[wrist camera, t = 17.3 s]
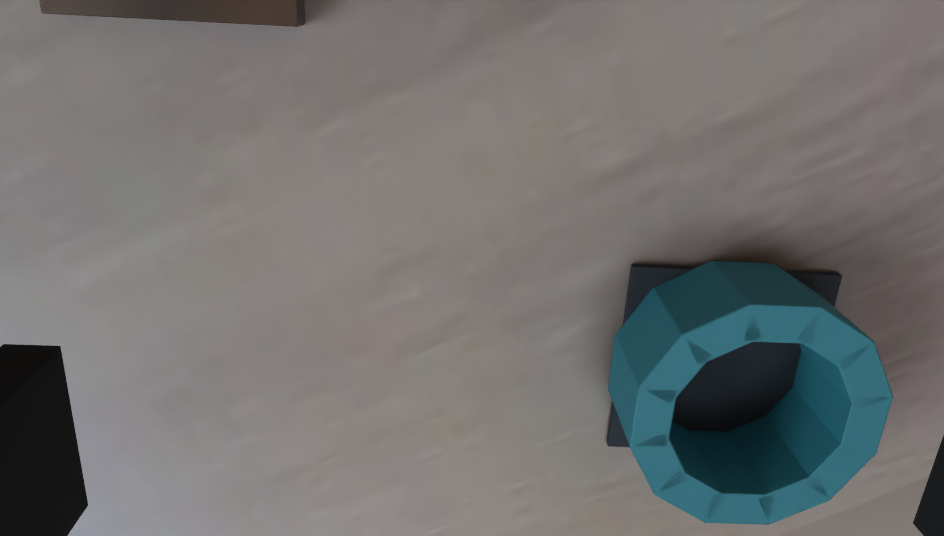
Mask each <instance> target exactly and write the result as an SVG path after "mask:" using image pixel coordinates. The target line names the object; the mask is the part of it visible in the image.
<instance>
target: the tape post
mask: <svg viewBox="0 0 944 536" xmlns="http://www.w3.org/2000/svg"><path fill="white" fill-rule="evenodd" d="M40 6H41V12H42V13H44V14H63V15H83V16H102V17H121V18H140V19H159V20H179V21H198V22H217V23H236V24H255V25H275V26H294V27H297V26H301V25H304V24H305V10H304V0H40Z"/></svg>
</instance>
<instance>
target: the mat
mask: <svg viewBox="0 0 944 536" xmlns="http://www.w3.org/2000/svg"><path fill="white" fill-rule="evenodd" d="M695 268H697V267H690V266H665V265H641V264H632V265H631V271H630V278H629V285H628V292H627V299H626V306H625V314H624V321H623V325H624V323H625V322H626V321H627V320H628V318H629V317H630V316H631V315H632V313H633V312H634V311H635V310H636V308H637V307H638V306H639V304H640V303H641V302H642V301H643V299H644V298H645V297H646V296H647V294H648V293H649V292H650V291H651V289H652V288H654V287H656V286H658V285H660V284H662V283H664V282H666V281H669V280H671V279H673V278H675V277H677V276H680V275H682V274H684V273H686V272H688V271H690V270H693V269H695ZM784 271H785V272H787V273H788V274H790V275H791V276H793V277H794V278H796V279H797V280H799V281H800V282H802V283H803V284H805V285H806V286H808V287H809V288H811V289H812V290H814V291H815V292H817V293H818V294H820V295H821V296H822V297H823V298H824V299H825V300H827V301H828V302H829V303H830V304H831V305H832V306H834V305H835V302H836V298H837V294H838V290H839V286H840V282H841V278H842V275H841V274H839V273H835V272H810V271H786V270H784ZM800 354H801V347H800V345H799V343H775V342H751V343H749V344H747V345H744V346H742V347H740V348H737V349H735V350H733V351H731V352H728V353H726V354H724V355H721V356H719V357H717V358H715V359H712V360H710V361H708V362H706V363H705V364H704V366H703V367H702V368H701V369H700V370H699V372H698V373H697V374H696V375H695V376H694V377H693V379H692V380H691V381H690V382H689V383H688V384H687V386H686V387H685V388H684V389H683V390H682V391H681V393H680V394H679V395H678V396H677V397H676V401H675V407H674V412H673V418H672V421H674V422H675V423H677V424H679V425H680V426H682V427H684V428H686V429H687V430H689V431H719V432H729V431H731V430H733V429H736V428H738V427H740V426H743V425H745V424H748V423H750V422H752V421H755V420H757V419H759V418H762V417H764V416H766V415H767V414H768V413H769V412H770V411H771V410H772V409H773V408H774V407H775V406H776V404H777V403H778V402H779V401H780V400H781V399H782V398H783V397H784V396H785V395H786V393H787V392H788V391H789V390H790V389H791V388H792V387H793V383H794V379H795V375H796V371H797V367H798V363H799V358H800ZM607 445H608V446H615V447H630V446H629V443H628V441H627V438H626V435H625V433H624V430H623V427H622V425H621V422H620V419H619V417H618V414H617V411H616V408H615V406H614V403H613V400H612V407H611V414H610V421H609V428H608V435H607Z"/></svg>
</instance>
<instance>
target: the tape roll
mask: <svg viewBox="0 0 944 536" xmlns="http://www.w3.org/2000/svg"><path fill="white" fill-rule="evenodd" d="M751 342H775V343H799V345H800V347H801V354H800V358H799V363H798V367H797V371H796V375H795V379H794V383H793V387H792V388H791V389H790V390H789V391H788V392H787V393H786V395H785V396H784V397H783V398H782V399H781V400H780V401H779V402H778V403H777V404H776V406H775V407H774V408H773V409H772V410H771V411H770V412H769V413H768V414H767V415H766V416H764V417H762V418H759V419H757V420H755V421H752V422H750V423H748V424H745V425H743V426H740V427H738V428H736V429H733V430H731V431H729V432H719V431H689V430H687V429H686V428H684V427H682V426H680V425H679V424H677V423H675V422H674V421H672V418H673V412H674V407H675V401H676V397H677V396H678V395H679V394H680V393H681V391H682V390H683V389H684V388H685V387H686V386H687V384H688V383H689V382H690V381H691V380H692V379H693V377H694V376H695V375H696V374H697V373H698V372H699V370H700V369H701V368H702V367H703V366H704V364H705V363H706V362H708V361H710V360H712V359H715V358H717V357H719V356H721V355H724V354H726V353H728V352H731V351H733V350H735V349H737V348H740V347H742V346H744V345H747V344H749V343H751ZM608 390H609V392H610V395H611V398H612V400H613V403H614V406H615V408H616V411H617V414H618V417H619V419H620V422H621V425H622V427H623V430H624V433H625V435H626V438H627V441H628V443H629V446H630V448H631V450H632V452H633V454H634V456H635V458H636V460H637V462H638V464H639V466H640V468H641V470H642V471H643V473H644V475H645V477H646V479H647V481H648V483H649V485H650V487H651V489H652V491H653V493H654V494H655V495H656V496H658V497H659V498H661V499H663V500H665V501H667V502H669V503H670V504H672V505H674V506H676V507H678V508H679V509H681V510H683V511H685V512H687V513H688V514H690V515H692V516H694V517H696V518H697V519H699V520H701V521H703V522H705V523H735V524H771V523H774V522H776V521H779V520H781V519H784V518H786V517H789V516H791V515H794V514H796V513H799V512H801V511H804V510H806V509H809V508H811V507H814V506H816V505H819V504H822V503H824V502H827V501H829V500H830V499H831V498H832V497H833V496H834V495H835V494H836V493H837V492H838V491H839V490H840V489H841V488H842V487H843V486H844V485H845V484H846V483H847V482H848V481H849V480H850V479H851V478H852V477H853V476H854V475H855V474H856V473H857V472H858V471H859V470H860V469H861V468H862V467H863V466H864V465H865V464H866V463H867V462H868V461H869V460H870V459H871V458H872V457H873V456H874V455H875V454H876V452H877V449H878V445H879V442H880V439H881V435H882V432H883V429H884V425H885V422H886V419H887V415H888V412H889V409H890V405H891V402H892V399H893V395H892V392H891V389H890V386H889V383H888V380H887V378H886V375H885V372H884V369H883V366H882V363H881V360H880V357H879V354H878V351H877V349H876V346H875V343H874V341H873V340H872V339H871V338H870V337H868V336H867V335H866V334H865V333H864V332H863V331H861V330H860V329H859V328H858V327H857V326H856V325H854V324H853V323H852V322H851V321H850V320H849V319H847V318H846V317H845V316H844V315H843V314H842V313H841V312H839V311H838V310H837V309H836V308H835V307H834V306H832V305H831V304H830V303H829V302H828V301H827V300H825V299H824V298H823V297H822V296H821V295H820V294H818V293H817V292H815V291H814V290H812V289H811V288H809V287H808V286H806V285H805V284H803V283H802V282H800V281H799V280H797V279H796V278H794V277H793V276H791V275H790V274H788V273H787V272H785V271H784V270H782V269H781V268H779V267H778V266H776V265H775V264H773V263H751V262H726V261H710V262H708V263H706V264H703V265H701V266H699V267H697V268H695V269H693V270H690V271H688V272H686V273H684V274H682V275H680V276H677V277H675V278H673V279H671V280H669V281H666V282H664V283H662V284H660V285H658V286H656V287H654V288H652V289H651V291H650V292H649V293H648V294H647V296H646V297H645V298H644V299H643V301H642V302H641V303H640V304H639V306H638V307H637V308H636V310H635V311H634V312H633V313H632V315H631V316H630V317H629V318H628V320H627V321H626V322H625V323H624V325H623V326H622V327H621V328H620V330H619V331H618V332H617V333H616V335H615V340H614V347H613V355H612V362H611V369H610V377H609V384H608Z"/></svg>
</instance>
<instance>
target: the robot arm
mask: <svg viewBox="0 0 944 536" xmlns="http://www.w3.org/2000/svg"><path fill="white" fill-rule="evenodd" d="M87 506H88V502H87V496H86V491H85V485H84V479H83V474H82V468H81V462H80V456H79V451H78V445H77V439H76V433H75V428H74V422H73V416H72V411H71V405H70V399H69V393H68V388H67V382H66V376H65V371H64V365H63V359H62V353H61V348H60V346H41V345H10V344H4V345H2V346H1V347H0V536H67V535H68V534H69V532H70V531H71V529H72V528H73V526H74V525H75V523H76V522H77V520H78V519H79V518H80V516H81V515H82V513H83V512H84V510H85V509H86V507H87ZM913 524H914V525H915V526H916V527H917V528H918V530H919V531H920V532H921V533H922V534H923V535H924V536H944V436H943V439H942V442H941V444H940V447H939V450H938V453H937V456H936V459H935V462H934V465H933V467H932V470H931V473H930V476H929V479H928V482H927V485H926V487H925V490H924V493H923V496H922V499H921V502H920V505H919V507H918V510H917V513H916V516H915V519H914V522H913Z"/></svg>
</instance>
